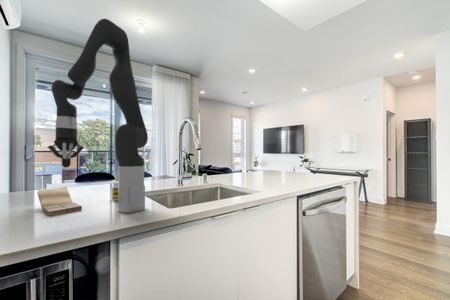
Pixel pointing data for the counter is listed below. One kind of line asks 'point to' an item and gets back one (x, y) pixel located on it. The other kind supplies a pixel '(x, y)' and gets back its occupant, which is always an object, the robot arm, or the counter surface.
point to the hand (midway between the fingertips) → (66, 167)
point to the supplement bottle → (115, 191)
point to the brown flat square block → (61, 208)
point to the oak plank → (53, 196)
